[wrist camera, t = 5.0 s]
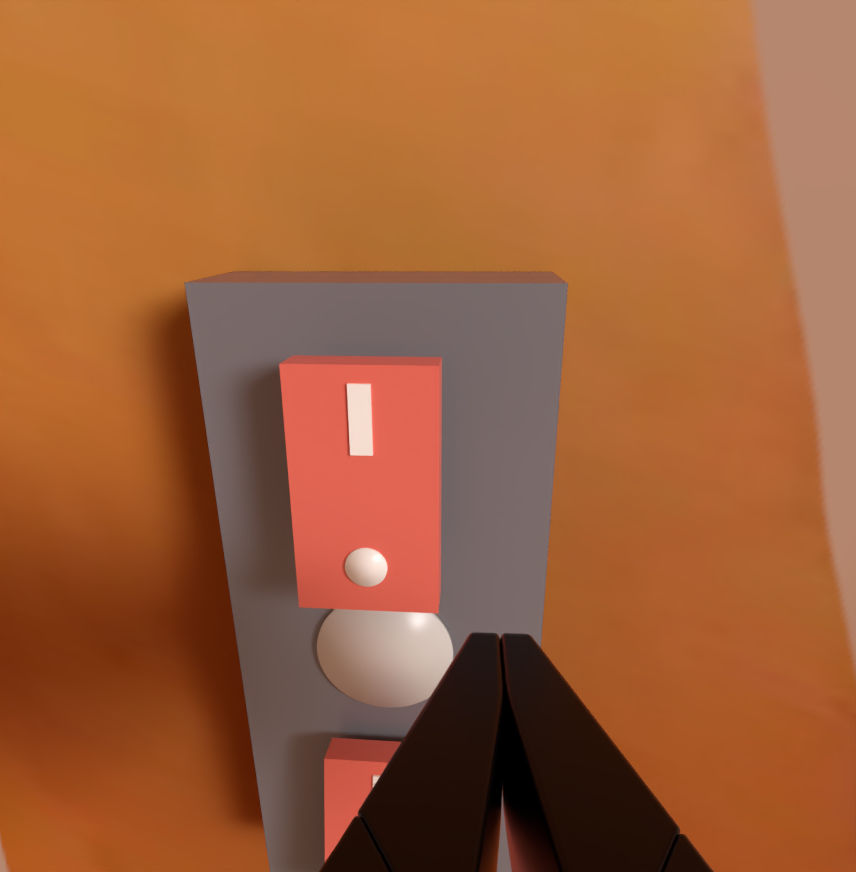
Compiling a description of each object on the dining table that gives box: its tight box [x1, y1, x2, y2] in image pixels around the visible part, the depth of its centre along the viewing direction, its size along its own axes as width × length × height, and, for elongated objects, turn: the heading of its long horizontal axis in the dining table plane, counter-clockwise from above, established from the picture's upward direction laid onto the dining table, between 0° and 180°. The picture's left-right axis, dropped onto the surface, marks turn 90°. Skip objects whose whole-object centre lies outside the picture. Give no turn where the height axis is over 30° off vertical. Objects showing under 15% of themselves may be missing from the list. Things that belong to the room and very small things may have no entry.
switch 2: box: [324, 738, 401, 861], centre depth 18 cm, size 6×3×1 cm, turn 0°
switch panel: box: [185, 272, 568, 872], centre depth 19 cm, size 25×9×4 cm, turn 0°
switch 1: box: [279, 355, 442, 613], centre depth 14 cm, size 6×3×1 cm, turn 0°
